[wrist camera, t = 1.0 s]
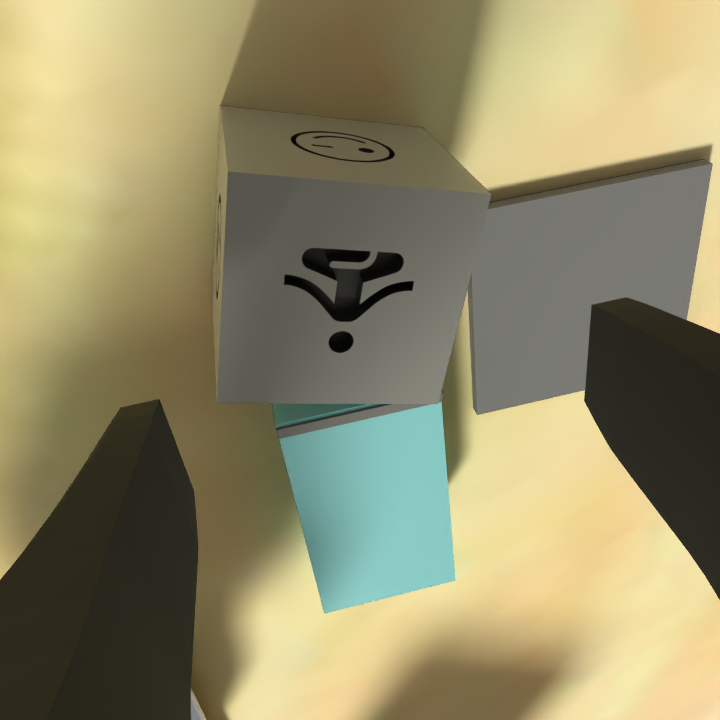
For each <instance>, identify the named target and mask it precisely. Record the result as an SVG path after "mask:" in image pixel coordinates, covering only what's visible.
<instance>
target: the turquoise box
mask: <svg viewBox="0 0 720 720" xmlns="http://www.w3.org/2000/svg"><path fill="white" fill-rule="evenodd" d="M442 397H444V392H443V387H442V391H441V395H440V399H439V403H438V404H290V403H272V406H273V413H274V419H275V426H276V430H277V434H278V438H279V441H280V445H281V449H282V453H283V456H284V460H285V464H286V468H287V472H288V476H289V479H290V483H291V487H292V491H293V495H294V499H295V503H296V506H297V510H298V514H299V518H300V522H301V526H302V529H303V533H304V537H305V541H306V545H307V549H308V553H309V556H310V560H311V564H312V568H313V572H314V576H315V579H316V583H317V587H318V591H319V595H320V599H321V603H322V606H323V610H324V613H328V612H332V611H336V610H340V609H344V608H348V607H352V606H356V605H360V604H364V603H368V602H372V601H376V600H380V599H384V598H388V597H392V596H396V595H400V594H404V593H408V592H411V591H415V590H419V589H423V588H427V587H431V586H435V585H439V584H443V583H447V582H451V581H455V569H454V556H453V543H452V531H451V518H450V505H449V492H448V479H447V466H446V454H445V441H444V428H443V415H442Z"/></svg>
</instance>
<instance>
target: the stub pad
mask: <svg viewBox="0 0 720 720" xmlns="http://www.w3.org/2000/svg"><path fill="white" fill-rule="evenodd" d="M711 170H712V163H710V162H708V161H706V160H704V159H702V160H698V161H693V162H688V163H683V164H678V165H673V166H668V167H663V168H658V169H653V170H648V171H643V172H638V173H634V174H629V175H624V176H619V177H614V178H609V179H604V180H599V181H594V182H589V183H584V184H579V185H575V186H570V187H565V188H560V189H555V190H550V191H545V192H540V193H535V194H530V195H525V196H520V197H515V198H511V199H506V200H501V201H496V202H491V203H489V206H488V210H487V214H486V218H485V222H484V226H483V230H482V234H481V238H480V242H479V246H478V250H477V253H476V257H475V261H474V265H473V269H472V273H471V277H470V281H469V285H468V302H469V324H470V347H471V369H472V391H473V408H474V410H475V412H476V414H477V415H479V414H483V413H488V412H492V411H496V410H501V409H505V408H509V407H514V406H518V405H522V404H527V403H531V402H535V401H540V400H544V399H548V398H553V397H557V396H561V395H566V394H570V393H574V392H579V391H583V390H585V385H586V372H587V359H588V345H589V332H590V319H591V305H593V304H597V303H602V302H606V301H611V300H615V299H620V298H625V297H627V298H630V299H633V300H637V301H639V302H642V303H645V304H648V305H650V306H653V307H656V308H658V309H661V310H663V311H665V312H668V313H670V314H673V315H675V316H678V317H680V318H683V319H685V320H687V314H688V308H689V302H690V296H691V290H692V284H693V278H694V272H695V266H696V260H697V254H698V248H699V242H700V236H701V230H702V224H703V218H704V212H705V206H706V200H707V194H708V188H709V182H710V176H711Z"/></svg>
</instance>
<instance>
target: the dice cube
mask: <svg viewBox="0 0 720 720" xmlns="http://www.w3.org/2000/svg"><path fill="white" fill-rule="evenodd" d="M490 198H491V193H490V192H489V191H488V190H487V189H486V188H485V187H484V186H483V185H482V184H481V183H480V182H479V181H477V180H476V179H475V178H474V177H473V176H472V175H471V174H470V173H469V172H468V171H467V170H466V169H465V168H464V167H463V166H462V165H461V164H460V163H459V162H458V161H457V160H456V159H455V158H454V157H453V156H452V155H451V154H450V153H449V152H447V151H446V150H445V149H444V148H443V147H442V146H441V145H440V144H439V143H438V142H437V141H436V140H435V139H434V138H433V137H432V136H431V135H430V134H429V133H428V132H427V131H426V130H425V129H424V128H422V127H413V126H404V125H394V124H385V123H376V122H367V121H358V120H348V119H339V118H330V117H321V116H311V115H302V114H293V113H284V112H275V111H265V110H256V109H247V108H238V107H229V106H220V121H219V145H218V169H217V193H216V218H215V242H214V266H213V290H212V302H213V328H214V353H215V379H216V403H290V404H438V403H439V399H440V395H441V391H442V387H443V383H444V379H445V375H446V371H447V367H448V363H449V360H450V356H451V352H452V348H453V344H454V340H455V336H456V332H457V328H458V324H459V320H460V316H461V312H462V308H463V305H464V301H465V297H466V293H467V289H468V285H469V281H470V277H471V273H472V269H473V265H474V261H475V257H476V253H477V250H478V246H479V242H480V238H481V234H482V230H483V226H484V222H485V218H486V214H487V210H488V206H489V202H490Z"/></svg>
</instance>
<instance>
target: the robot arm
mask: <svg viewBox="0 0 720 720" xmlns="http://www.w3.org/2000/svg"><path fill="white" fill-rule="evenodd" d="M584 401H585V403H586V405H587V407H588V409H589V411H590V413H591V414H592V416H593V418H594V420H595V422H596V424H597V426H598V428H599V429H600V431H601V433H602V435H603V436H604V438H605V440H606V442H607V443H608V445H609V447H610V448H611V450H612V451H613V453H614V454H615V455H616V457H617V458H618V460H619V461H620V462H621V464H622V465H623V466H624V468H625V469H626V470H627V472H628V473H629V474H630V476H631V477H632V478H633V480H634V481H635V482H636V484H637V485H638V486H639V488H640V489H641V490H642V491H643V493H644V494H645V495H646V497H647V498H648V499H649V501H650V502H651V503H652V505H653V506H654V507H655V509H656V510H657V511H658V512H659V514H660V515H661V516H662V518H663V519H664V520H665V522H666V523H667V524H668V526H669V527H670V528H671V529H672V531H673V532H674V533H675V535H676V536H677V537H678V539H679V540H680V541H681V543H682V544H683V545H684V546H685V548H686V549H687V550H688V552H689V553H690V555H691V556H692V558H693V559H694V560H695V562H696V563H697V565H698V566H699V568H700V569H701V570H702V572H703V573H704V575H705V576H706V578H707V580H708V581H709V583H710V585H711V586H712V588H713V589H714V591H715V593H716V594H717V596H718V598H719V599H720V334H719V333H716V332H714V331H712V330H709V329H707V328H704V327H702V326H699V325H697V324H695V323H692V322H690V321H687V320H685V319H683V318H680V317H678V316H675V315H673V314H670V313H668V312H665V311H663V310H661V309H658V308H656V307H653V306H650V305H648V304H645V303H642V302H639V301H637V300H633V299H630V298H627V297H625V298H620V299H615V300H611V301H606V302H602V303H597V304H593V305H591V319H590V332H589V345H588V359H587V372H586V385H585V399H584ZM197 563H198V536H197V521H196V509H195V497H194V490H193V487H192V485H191V482H190V479H189V477H188V474H187V471H186V469H185V466H184V463H183V461H182V458H181V455H180V453H179V450H178V447H177V445H176V442H175V439H174V437H173V434H172V431H171V429H170V426H169V423H168V421H167V418H166V416H165V413H164V410H163V408H162V405H161V402H160V400H159V399H158V400H154V401H149V402H145V403H140V404H135V405H131V406H126V407H122V408H120V410H119V411H118V413H117V414H116V416H115V417H114V419H113V420H112V422H111V423H110V425H109V426H108V428H107V429H106V431H105V433H104V434H103V436H102V437H101V439H100V440H99V442H98V444H97V445H96V447H95V448H94V450H93V452H92V453H91V455H90V456H89V458H88V460H87V461H86V463H85V464H84V466H83V467H82V469H81V471H80V472H79V474H78V475H77V477H76V478H75V480H74V481H73V483H72V484H71V486H70V487H69V488H68V490H67V491H66V493H65V494H64V496H63V497H62V499H61V500H60V502H59V503H58V505H57V506H56V508H55V509H54V511H53V512H52V514H51V515H50V516H49V518H48V519H47V520H46V522H45V523H44V524H43V526H42V527H41V528H40V530H39V531H38V532H37V534H36V535H35V536H34V538H33V539H32V541H31V542H30V543H29V545H28V546H27V547H26V549H25V550H24V551H23V553H22V554H21V555H20V556H19V558H18V559H17V560H16V561H15V563H14V564H13V565H12V566H11V568H10V569H9V570H8V571H7V572H6V574H5V575H4V576H3V577H2V578H1V580H0V720H206V718H205V716H204V714H203V712H202V709H201V707H200V705H199V703H198V701H197V699H196V697H195V695H194V693H193V691H192V689H191V670H192V653H193V636H194V618H195V601H196V582H197Z"/></svg>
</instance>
